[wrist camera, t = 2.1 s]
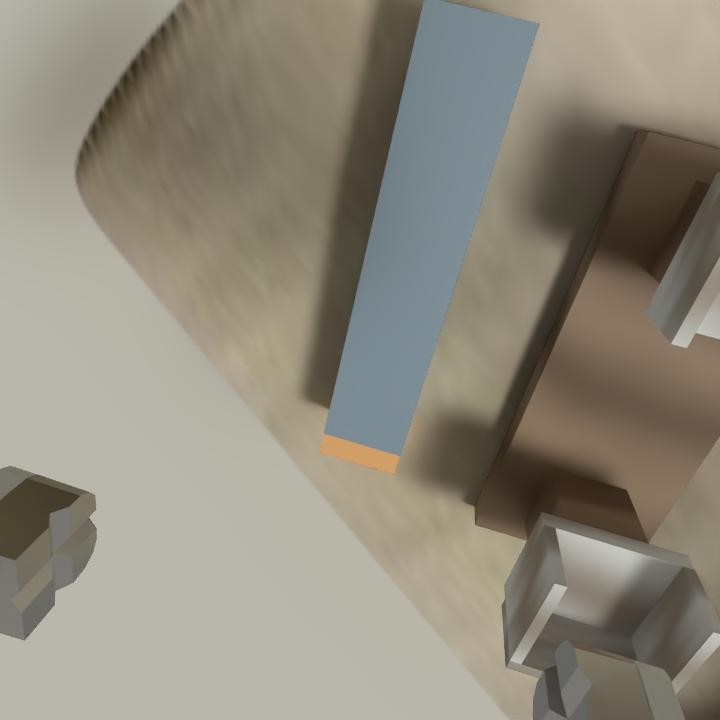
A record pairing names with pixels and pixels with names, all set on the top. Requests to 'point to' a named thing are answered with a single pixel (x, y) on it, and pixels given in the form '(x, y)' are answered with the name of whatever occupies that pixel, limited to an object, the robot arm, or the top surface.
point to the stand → (619, 429)
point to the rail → (423, 221)
